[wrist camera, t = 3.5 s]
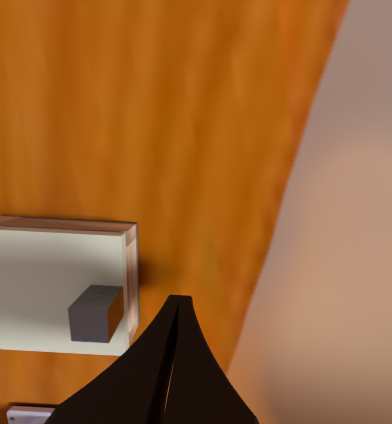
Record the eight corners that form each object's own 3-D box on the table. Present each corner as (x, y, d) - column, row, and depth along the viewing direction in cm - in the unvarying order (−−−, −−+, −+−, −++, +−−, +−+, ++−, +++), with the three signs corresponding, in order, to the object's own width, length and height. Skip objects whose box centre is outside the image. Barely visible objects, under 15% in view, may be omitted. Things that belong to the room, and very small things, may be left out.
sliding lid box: (139, 321, 15) (130, 343, 13) (-70, 310, 15) (-110, 330, 13) (137, 222, 13) (127, 231, 11) (-99, 210, 13) (-150, 216, 11)
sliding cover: (129, 347, 13) (111, 390, 10) (9, 341, 13) (-38, 382, 10) (125, 232, 11) (103, 250, 9) (-14, 225, 11) (-77, 241, 9)
